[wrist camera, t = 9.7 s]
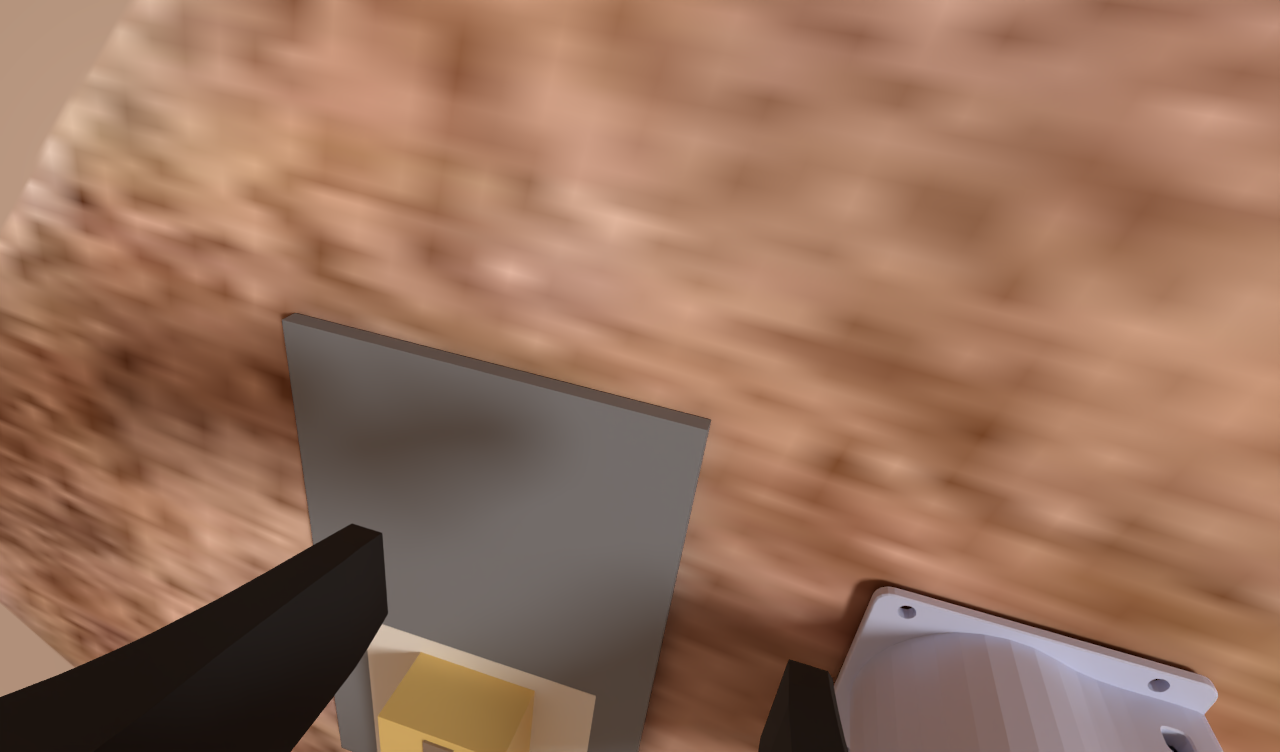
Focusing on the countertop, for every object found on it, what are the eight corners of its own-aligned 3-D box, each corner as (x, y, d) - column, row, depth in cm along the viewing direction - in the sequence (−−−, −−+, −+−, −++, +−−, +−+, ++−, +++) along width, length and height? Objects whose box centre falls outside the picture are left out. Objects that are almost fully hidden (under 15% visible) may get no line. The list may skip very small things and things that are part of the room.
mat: (710, 419, 20) (707, 430, 19) (619, 836, 31) (615, 850, 31) (295, 312, 22) (281, 320, 22) (349, 736, 33) (341, 747, 33)
